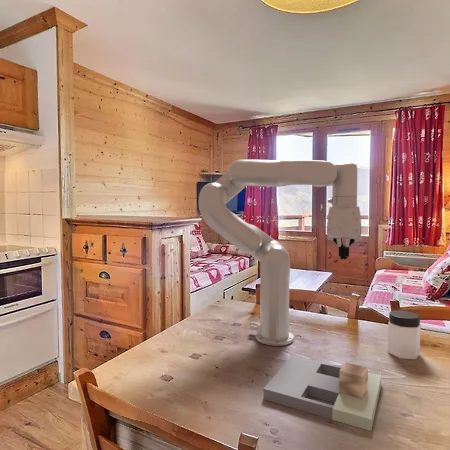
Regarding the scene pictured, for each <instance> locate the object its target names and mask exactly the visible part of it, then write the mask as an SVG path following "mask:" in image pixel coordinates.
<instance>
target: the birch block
mask: <svg viewBox="0 0 450 450" xmlns="http://www.w3.org/2000/svg"><path fill="white" fill-rule="evenodd" d="M368 373H369V367H366V366H362V365H359V364H355V363H351V362H347V361H346V362H344V364H343V365H342V368H341V369H340V374H339V377H338V378H339V392H341V393H344V394H347V395H350V396H353V397H356V398H360V399H363V397H364V395H365V393H366V391H367V388H368Z"/></svg>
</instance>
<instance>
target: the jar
mask: <svg viewBox="0 0 450 450" xmlns="http://www.w3.org/2000/svg"><path fill="white" fill-rule="evenodd" d="M388 320H389V321H388V322H387V353H389V354H391V355H393V356H394V357H396V358H397V359H401V360H402V359H403V360H415V361H416V360H417V359H418V358H419V356H420V354H421V351H420V350H421V325H422V324H421V316H420V314H419V313H418V314H417V313H416V312H412V311H407V310H403V309H402V310H400V309H399V310H397V309H396V310H391V311H390V312H389V315H388Z"/></svg>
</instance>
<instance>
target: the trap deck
mask: <svg viewBox="0 0 450 450" xmlns="http://www.w3.org/2000/svg"><path fill="white" fill-rule="evenodd" d="M342 367H343V365H342V366H341V365H336V364H332V363H328V362H322V361H319V360H313V359H309V358H306V357H305V358H304V357H300V356H295V355H291V356H290V357H289V358H288V359H287V360H286V361H285V363H284V364H283V365H282V366H281V368H279V370H277V372H276V373H275V374H274V376H273V377H272V378H271V379H270V380H269V382H268V383H267V384H266V385H265V386H264V387H263V389H262V390H263V392H262V393H263V400H265V401H269V402H272V403H274V404H278V405H282V406H284V407H289V408H290V409H295V410H297V411H298V410H299V411H302V412H305V413H309V414H312V415H316V416H319V417H323V418H325V419H329V420H332V421H335V422H340V423H343V424H346V425H349V426H353V427H357V428H359V429H362V430H366V431H369V432H372V430H373V426H374V420H375V415H376V412H377V407H378V406H377V405H378V403H379V402H378V401H379V397H380V393H381V388H382V375H381V374H375V373H371V372H368V388H367V391H366V393H365V395H364V397H363V399H360V398H356V397H353V396H350V395H347V394H344V393H341V392H339V374H340V369H341V368H342ZM308 396H309V397H312V398H316V399H320V400H324V401H326V402H330V403H333V405H332V404H330V403H325V402H321V401H319V400H316V399H311V398H308Z"/></svg>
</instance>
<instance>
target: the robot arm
mask: <svg viewBox="0 0 450 450" xmlns="http://www.w3.org/2000/svg"><path fill="white" fill-rule="evenodd" d="M296 185H301V186H302V185H303V186H304V185H305V186H313V187H316V188H322V187H329V186H331V187H332V192H331V193H332V194H331V195H332V196H331V198H328V199H327V203H328V204H331V206H329V208H328V214H327V223H326V235H327V236H326V240H328V241H331V242H333V243H335V244H336V245H337V247H338V257H340V260H347V259H348V258H349V257H350V247H351V245H353V244H354V243H359V242H362V241H363V238H362V217H361V210H360V206H358V166H357V164H355V163H351V162H342V163H341V162H340V163H336V164H334V163H333V162H330V161H327V160H317V159H316V160H311V159H310V160H309V159H307V160H306V159H299V160H298V159H297V160H296V159H295V160H286V159H281V160H278V159H277V160H273V159H271V160H270V159H237V160H234V161H232V162H231V163H230V164H229V166H228V169H227V171H226V172H225V173H224V174H223V175H222V176H220V177H219V178H218V179H217V180H216V181H214V182H209V183H207V184H205V185H204V186H203V187H202V188H201V190H200V192H199V195H198V210H199V213H200V216H201V218H202V220H203V221H204V223H206V225H207V226H208V227H209V228H211V230H213V231H214V232H215V233H217V234H219V236H221V237H222V238H223V239H225V240H226V241H228V242H229V243H230V244H232V246H234V247H235V248H236V249H237V250H239V251H240V252H241V253H244V254H249V255H250V256H251V257H253V258H254V259H255V260H257V261H259V263H260V264H259V265H260V267H259V268H260V271H259V272H260V273H259V275H260V277H259V282H260V284H259V291H260V295H259V300H260V303H259V308H260V309H259V312H260V313H259V314H260V317H259V319H260V321H259V323H258V322H254V321H250V323H249V329H250V330H252V331H256V333H255V340H256V341H257V342H258V343H261V344H264V345H266V346H267V345H268V346H272V347H273V346H275V347H278V346H280V347H281V346H286V345H290V344H292V343H293V342H294V339H295V336H294V334H293V333H292V332H290V276H291V275H290V274H291V256H290V254H289V251H288V250H287V249H286V247H284V245H282V244H281V243H280V242H278V241H277V240H276V239H275V238H273V237H272V236H270V235H269V234H267V233H266V232H264V231H263V230H262V229H260V228H259V227H258V226H256V225H254V224H251V223H248V222H246V221H245V220H243V219H242V218H240V217H239V216H238V215H237V214H235V213H234V212H232V211H231V210H230V209H229V208H228V207H227V205H226V204H228V203H229V202H230V201H231V200H233V198H235V197H236V196H237V195H238V194H239V193H240V192H242V190H244V189H245V188H246V187H270V188H273V187H274V188H277V187H286V186H296ZM343 238H345V242H344V240H343ZM344 243H345V244H344Z"/></svg>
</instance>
